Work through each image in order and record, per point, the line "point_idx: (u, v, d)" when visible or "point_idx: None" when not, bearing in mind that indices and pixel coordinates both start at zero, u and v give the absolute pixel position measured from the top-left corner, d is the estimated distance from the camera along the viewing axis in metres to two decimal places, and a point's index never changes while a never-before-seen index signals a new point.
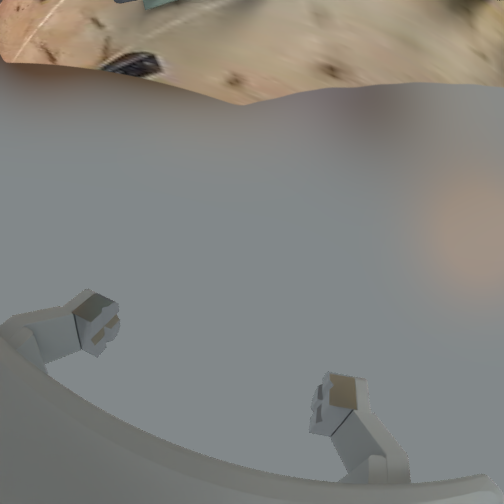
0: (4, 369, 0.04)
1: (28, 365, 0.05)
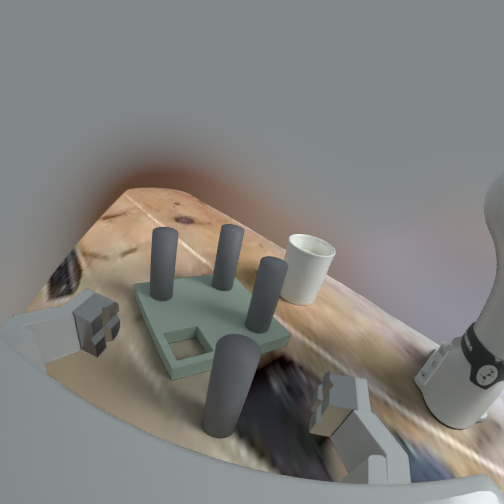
0: (4, 369, 0.04)
1: (28, 365, 0.05)
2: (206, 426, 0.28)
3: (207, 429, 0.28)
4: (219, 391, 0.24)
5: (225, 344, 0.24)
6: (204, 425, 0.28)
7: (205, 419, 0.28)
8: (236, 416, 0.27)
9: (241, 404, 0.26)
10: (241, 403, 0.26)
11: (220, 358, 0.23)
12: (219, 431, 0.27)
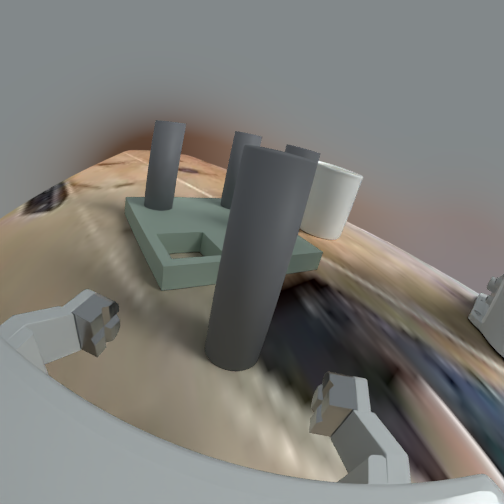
0: (4, 369, 0.04)
1: (28, 365, 0.05)
2: (211, 346, 0.18)
3: (214, 352, 0.18)
4: (244, 237, 0.15)
5: (259, 147, 0.15)
6: (208, 346, 0.19)
7: (211, 330, 0.18)
8: (267, 314, 0.17)
9: (279, 280, 0.16)
10: (280, 276, 0.16)
11: (253, 150, 0.13)
12: (236, 350, 0.18)
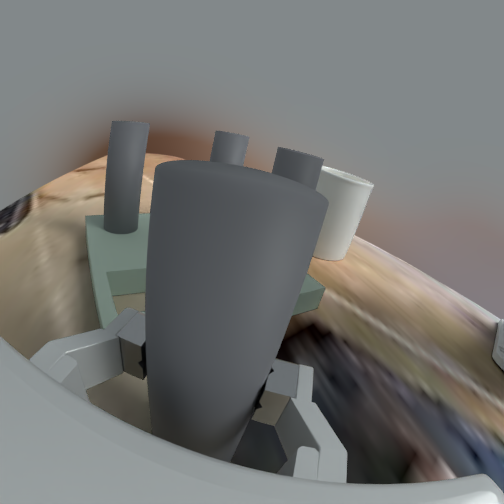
0: (4, 369, 0.04)
1: (28, 365, 0.05)
2: None
3: None
4: (167, 363, 0.07)
5: (196, 166, 0.07)
6: None
7: None
8: (231, 444, 0.09)
9: (247, 413, 0.08)
10: (247, 410, 0.08)
11: (162, 182, 0.05)
12: None
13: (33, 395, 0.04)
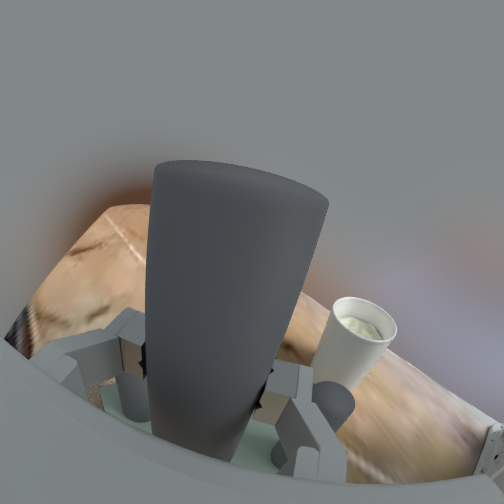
0: (4, 369, 0.04)
1: (28, 365, 0.05)
2: None
3: None
4: (166, 364, 0.07)
5: (196, 166, 0.07)
6: None
7: None
8: (231, 445, 0.09)
9: (247, 413, 0.08)
10: (247, 410, 0.08)
11: (162, 183, 0.05)
12: None
13: (33, 395, 0.04)
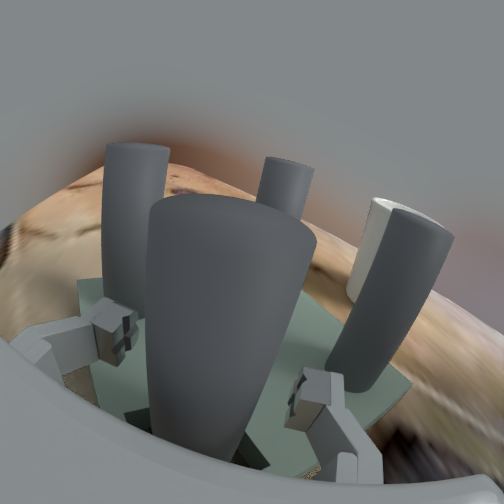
0: (4, 369, 0.04)
1: (28, 365, 0.05)
2: None
3: None
4: (166, 386, 0.07)
5: (189, 205, 0.07)
6: None
7: None
8: (228, 454, 0.09)
9: (241, 427, 0.09)
10: (241, 425, 0.08)
11: (156, 231, 0.06)
12: None
13: (33, 395, 0.04)
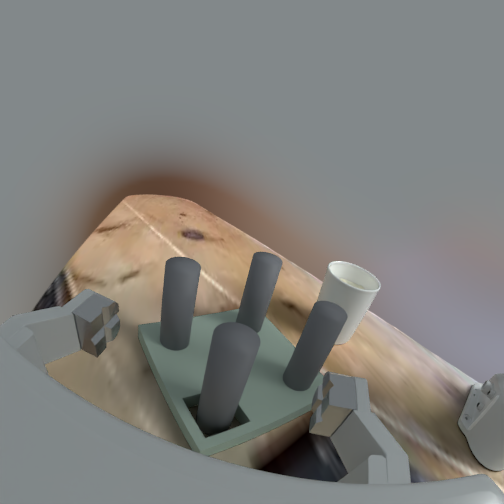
0: (4, 369, 0.04)
1: (28, 365, 0.05)
2: (199, 423, 0.27)
3: (201, 425, 0.27)
4: (214, 383, 0.23)
5: (223, 331, 0.23)
6: (198, 421, 0.27)
7: (199, 415, 0.27)
8: (232, 412, 0.25)
9: (238, 398, 0.25)
10: (238, 397, 0.24)
11: (217, 346, 0.22)
12: (214, 427, 0.26)
13: (33, 395, 0.04)
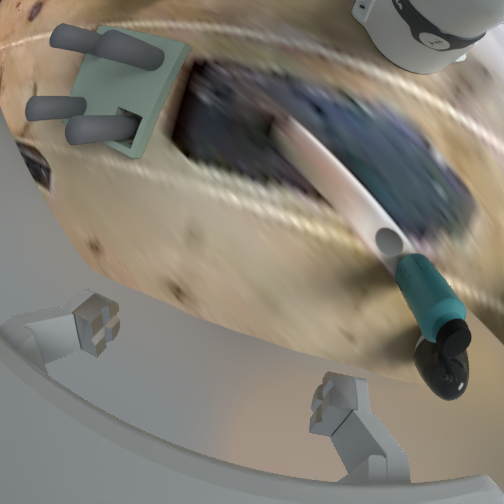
0: (4, 369, 0.04)
1: (28, 365, 0.05)
2: None
3: None
4: None
5: (68, 133, 0.29)
6: None
7: None
8: (124, 129, 0.37)
9: (115, 128, 0.35)
10: (114, 129, 0.35)
11: (72, 144, 0.30)
12: (131, 136, 0.40)
13: (33, 395, 0.04)
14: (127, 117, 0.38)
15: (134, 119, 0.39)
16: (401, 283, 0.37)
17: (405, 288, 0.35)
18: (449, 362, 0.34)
